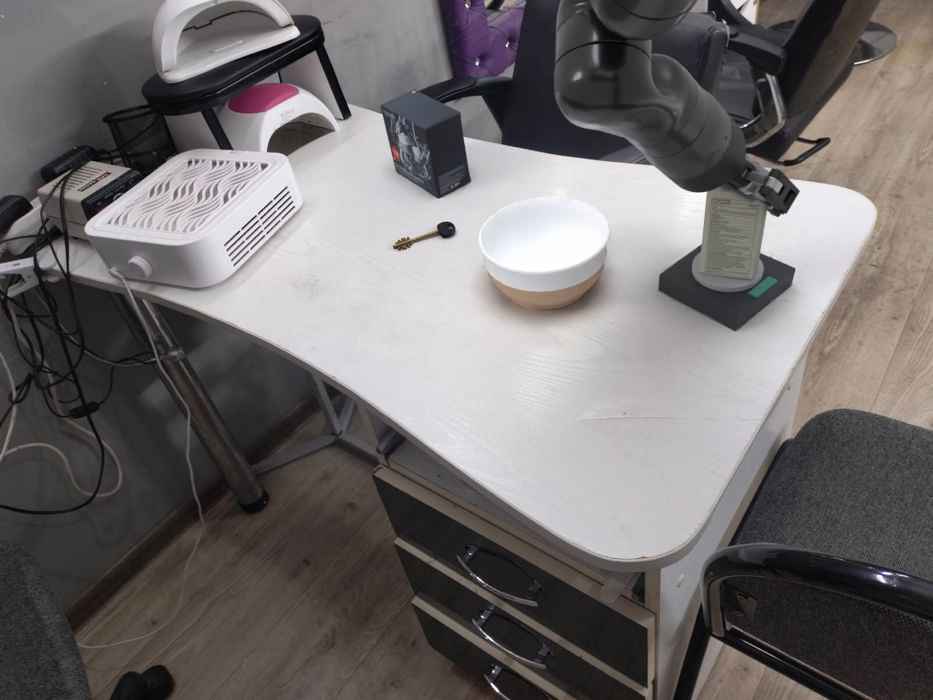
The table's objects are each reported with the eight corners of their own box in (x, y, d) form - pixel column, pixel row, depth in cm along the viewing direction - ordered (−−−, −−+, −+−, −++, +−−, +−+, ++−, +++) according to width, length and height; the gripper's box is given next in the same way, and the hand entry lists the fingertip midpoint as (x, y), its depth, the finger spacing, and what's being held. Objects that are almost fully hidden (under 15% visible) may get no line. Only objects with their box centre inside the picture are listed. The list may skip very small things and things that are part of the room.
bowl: (558, 341, 80) (555, 289, 75) (459, 293, 89) (451, 243, 84) (634, 271, 88) (636, 219, 82) (536, 233, 96) (533, 183, 91)
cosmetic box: (759, 260, 81) (778, 167, 72) (753, 282, 78) (772, 188, 70) (703, 251, 83) (715, 161, 75) (695, 272, 81) (707, 181, 72)
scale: (791, 285, 82) (797, 262, 79) (735, 331, 78) (739, 308, 75) (713, 250, 89) (716, 228, 86) (658, 290, 84) (659, 268, 82)
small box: (393, 171, 115) (377, 103, 107) (426, 156, 117) (413, 87, 109) (437, 199, 106) (424, 127, 98) (472, 182, 109) (462, 110, 101)
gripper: (781, 120, 58) (826, 183, 70) (648, 81, 66) (708, 144, 79) (734, 201, 59) (786, 249, 71) (610, 153, 68) (675, 203, 80)
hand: (745, 194), depth 75 cm, fingers open, 8 cm apart
